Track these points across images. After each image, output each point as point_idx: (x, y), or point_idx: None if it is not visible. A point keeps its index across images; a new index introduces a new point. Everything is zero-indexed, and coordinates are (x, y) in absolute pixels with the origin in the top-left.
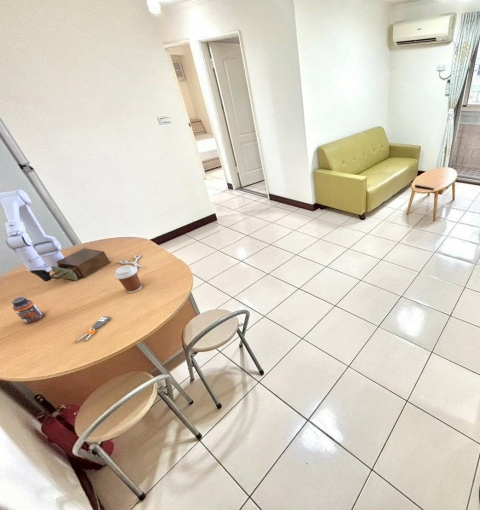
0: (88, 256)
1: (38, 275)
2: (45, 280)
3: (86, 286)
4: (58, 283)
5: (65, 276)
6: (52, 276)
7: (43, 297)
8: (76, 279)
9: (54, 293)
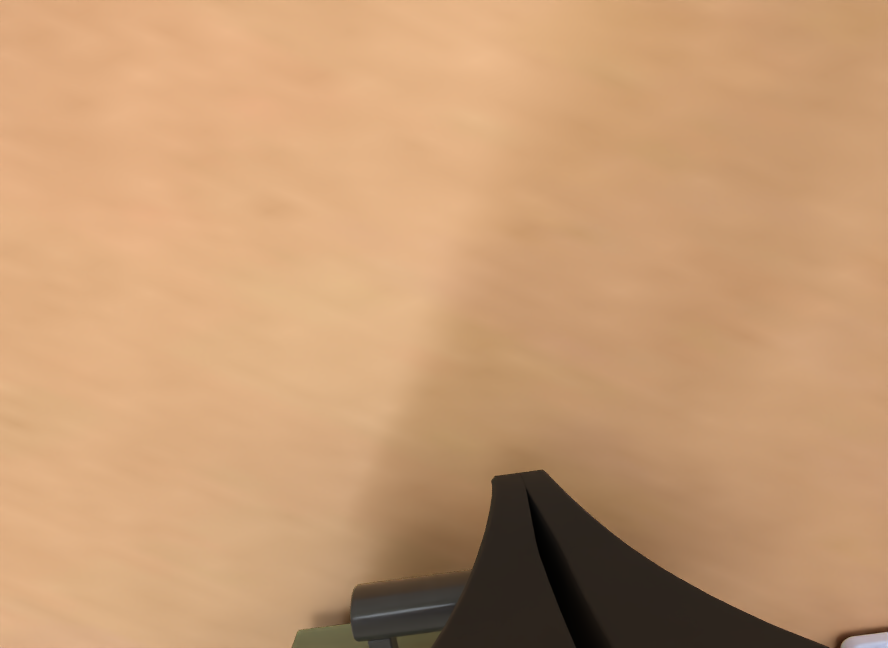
0: None
1: (576, 589)
2: (492, 493)
3: (72, 599)
4: None
5: None
6: None
7: (318, 240)
8: (296, 645)
9: (281, 357)
